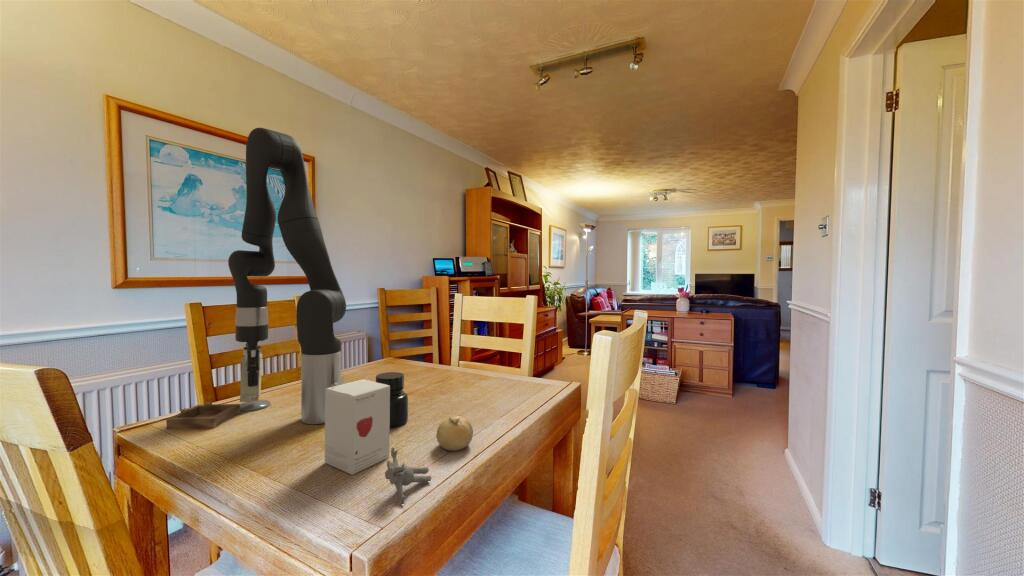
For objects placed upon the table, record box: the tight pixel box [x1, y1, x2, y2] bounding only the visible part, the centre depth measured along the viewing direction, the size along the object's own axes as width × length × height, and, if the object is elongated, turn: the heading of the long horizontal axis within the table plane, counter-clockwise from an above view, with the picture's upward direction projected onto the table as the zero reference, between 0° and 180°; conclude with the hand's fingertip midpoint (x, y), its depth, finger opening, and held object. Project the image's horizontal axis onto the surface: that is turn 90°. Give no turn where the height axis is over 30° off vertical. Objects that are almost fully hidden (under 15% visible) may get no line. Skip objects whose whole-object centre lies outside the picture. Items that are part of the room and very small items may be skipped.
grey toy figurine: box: [384, 447, 433, 505], centre depth 67 cm, size 10×6×9 cm
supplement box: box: [324, 378, 391, 476], centre depth 77 cm, size 9×9×15 cm
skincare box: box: [239, 353, 263, 403], centre depth 107 cm, size 6×4×12 cm
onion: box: [435, 415, 474, 451], centre depth 84 cm, size 8×8×7 cm
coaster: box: [239, 399, 271, 413], centre depth 107 cm, size 8×8×1 cm
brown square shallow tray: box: [165, 401, 241, 430], centre depth 97 cm, size 10×10×3 cm
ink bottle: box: [375, 371, 409, 429], centre depth 97 cm, size 10×9×12 cm
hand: (252, 382), depth 107 cm, fingers closed on skincare box, 6 cm apart
